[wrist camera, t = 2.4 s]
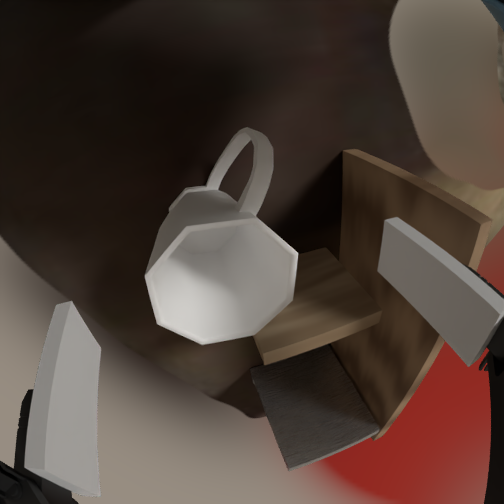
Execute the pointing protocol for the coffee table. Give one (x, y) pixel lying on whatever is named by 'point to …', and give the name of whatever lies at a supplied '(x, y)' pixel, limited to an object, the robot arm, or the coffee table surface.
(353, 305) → the divider
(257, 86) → the coffee table surface
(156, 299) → the cup
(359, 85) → the coffee table surface
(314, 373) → the bookend
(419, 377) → the shelf wall
